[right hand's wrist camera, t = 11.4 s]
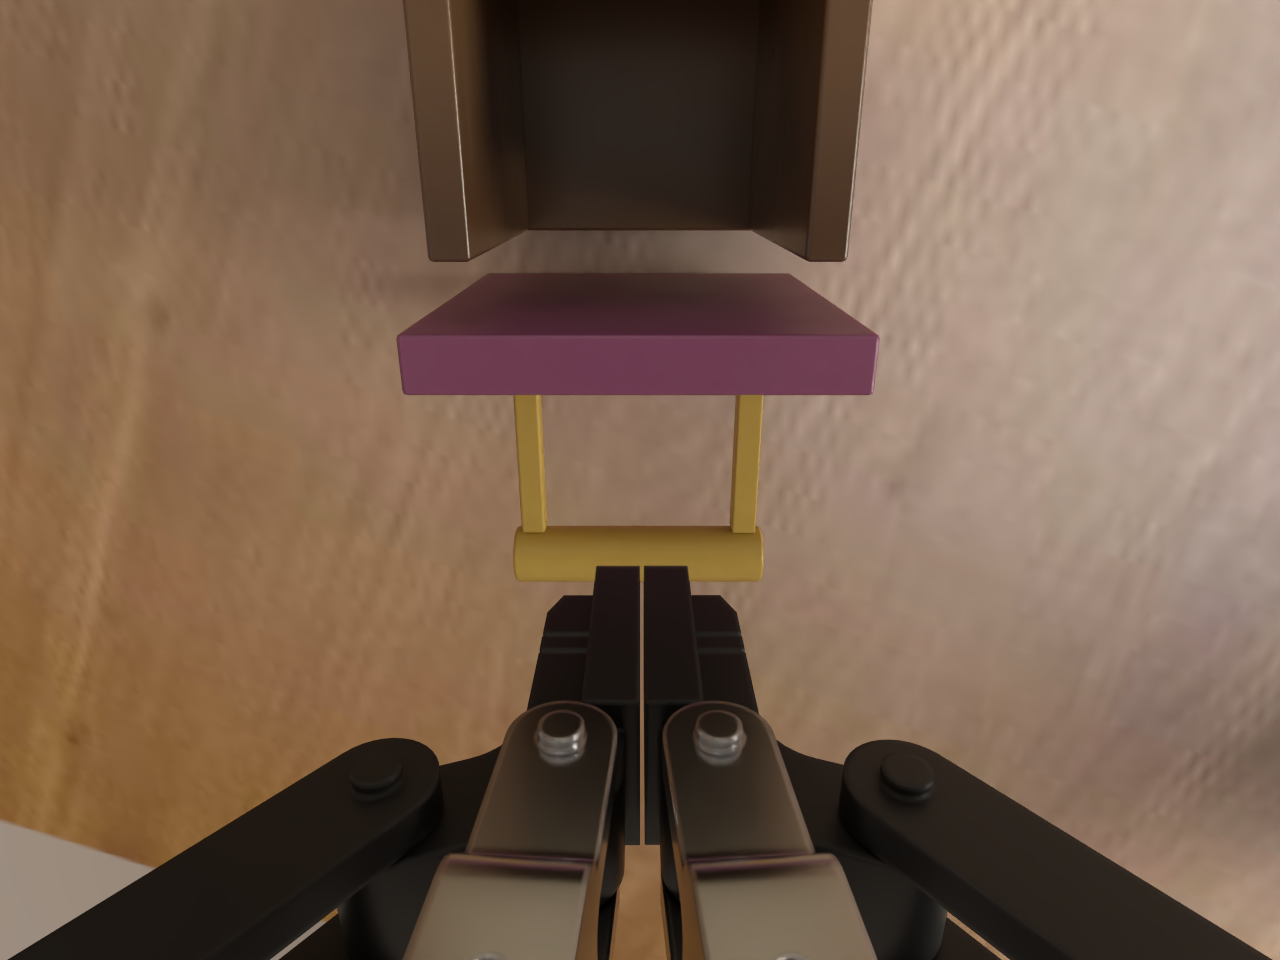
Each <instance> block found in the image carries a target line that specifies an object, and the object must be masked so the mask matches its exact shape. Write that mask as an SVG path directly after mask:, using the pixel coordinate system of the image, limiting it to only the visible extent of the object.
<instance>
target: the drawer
mask: <svg viewBox="0 0 1280 960" xmlns="http://www.w3.org/2000/svg"><path fill="white" fill-rule="evenodd" d="M872 2H873V0H403V7H404V17H405V27H406V37H407V48H408V58H409V68H410V78H411V88H412V98H413V108H414V118H415V128H416V138H417V148H418V158H419V168H420V178H421V189H422V199H423V209H424V219H425V229H426V239H427V249H428V257H429V259H430V260H431V261H433V262H467V261H470V260H472V259H473V258H475V257H477V256H479V255H481V254H483V253H485V252H487V251H489V250H490V249H492V248H494V247H496V246H498V245H500V244H502V243H504V242H506V241H507V240H509V239H511V238H513V237H515V236H517V235H519V234H521V233H522V232H524V231H526V230H751V231H753V232H755V233H757V234H759V235H760V236H762V237H764V238H766V239H768V240H770V241H772V242H773V243H775V244H777V245H779V246H781V247H783V248H784V249H786V250H788V251H790V252H792V253H794V254H796V255H797V256H799V257H801V258H803V259H805V260H807V261H809V262H842V261H845V260H846V259H847V257H848V247H849V237H850V227H851V217H852V207H853V196H854V186H855V176H856V166H857V155H858V145H859V135H860V125H861V114H862V104H863V94H864V84H865V73H866V63H867V53H868V43H869V32H870V22H871V12H872ZM879 340H880V339H879V335H877V334H876V333H874V332H873V331H871V330H870V329H868V328H867V327H866V326H864V325H863V324H861V323H860V322H858V321H857V320H855V319H854V318H853V317H851V316H850V315H848V314H847V313H845V312H844V311H842V310H841V309H840V308H838V307H837V306H835V305H834V304H832V303H831V302H829V301H828V300H827V299H825V298H824V297H822V296H821V295H819V294H818V293H817V292H815V291H814V290H812V289H811V288H809V287H808V286H806V285H805V284H804V283H802V282H801V281H799V280H798V279H796V278H795V277H793V276H792V275H791V274H487V275H485V276H484V277H482V278H481V279H480V280H478V281H477V282H475V283H474V284H472V285H471V286H469V287H468V288H466V289H465V290H463V291H462V292H460V293H459V294H458V295H456V296H455V297H453V298H452V299H450V300H449V301H447V302H446V303H444V304H443V305H441V306H440V307H438V308H437V309H436V310H434V311H433V312H431V313H430V314H428V315H427V316H425V317H424V318H422V319H421V320H419V321H418V322H416V323H415V324H414V325H412V326H411V327H409V328H408V329H406V330H405V331H403V332H402V333H400V334H399V335H397V348H398V356H399V364H400V373H401V381H402V390H403V392H404V394H406V395H513V396H514V412H515V428H516V443H517V459H518V475H519V491H520V507H521V522H522V526H519V527H518V528H517V530H516V533H515V538H514V548H513V563H514V573H515V577H516V579H517V581H520V582H595V573H596V566H640V582H644V566H687V567H688V574H689V582H757V581H760V580H761V577H762V573H763V563H764V549H763V538H762V533H761V530H760V528H759V527H758V526H755V525H756V509H757V492H758V476H759V460H760V444H761V428H762V412H763V396H764V395H870V394H872V393H873V391H874V382H875V374H876V365H877V357H878V348H879ZM541 395H736V403H735V423H734V444H733V465H732V485H731V506H730V526H546V525H547V507H546V487H545V467H544V447H543V427H542V407H541Z"/></svg>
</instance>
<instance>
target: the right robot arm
mask: <svg viewBox="0 0 1280 960" xmlns="http://www.w3.org/2000/svg"><path fill="white" fill-rule="evenodd" d="M644 794H645V845H660V858H661V894H660V895H661V910H662V919H663V928H664V937H665V945H666V954H667V960H1001V959H1000V958H998V957H997V956H996V955H995V954H993V953H992V952H991V951H990V950H988V949H987V948H986V947H984V946H983V945H982V944H981V943H979V942H978V941H977V940H975V939H974V938H973V937H972V936H970V935H969V934H968V933H966V932H965V931H964V930H963V929H961V928H960V927H959V926H958V925H956V924H955V923H954V922H952V921H951V920H950V919H949V918H947V912H949V913H951V914H952V915H953V916H955V917H956V918H957V919H958V920H960V921H961V922H962V923H964V924H965V925H966V926H967V927H969V928H970V929H971V930H973V931H974V932H975V933H976V934H978V935H979V936H980V937H982V938H983V939H984V940H986V941H987V942H988V943H989V944H991V945H992V946H993V947H995V948H996V949H997V950H998V951H1000V952H1001V953H1002V954H1004V955H1005V956H1006V957H1007V958H1009V959H1010V960H1272V959H1270V958H1269V957H1267V956H1265V955H1264V954H1262V953H1261V952H1259V951H1257V950H1256V949H1254V948H1252V947H1251V946H1249V945H1248V944H1246V943H1244V942H1243V941H1241V940H1239V939H1238V938H1236V937H1235V936H1233V935H1231V934H1230V933H1228V932H1226V931H1225V930H1223V929H1222V928H1220V927H1218V926H1217V925H1215V924H1213V923H1212V922H1210V921H1209V920H1207V919H1205V918H1204V917H1202V916H1200V915H1199V914H1197V913H1196V912H1194V911H1192V910H1191V909H1189V908H1187V907H1186V906H1184V905H1183V904H1181V903H1179V902H1178V901H1176V900H1174V899H1173V898H1171V897H1170V896H1168V895H1166V894H1165V893H1163V892H1162V891H1160V890H1158V889H1157V888H1155V887H1153V886H1152V885H1150V884H1149V883H1147V882H1145V881H1144V880H1142V879H1140V878H1139V877H1137V876H1136V875H1134V874H1132V873H1131V872H1129V871H1127V870H1126V869H1124V868H1123V867H1121V866H1119V865H1118V864H1116V863H1114V862H1113V861H1111V860H1110V859H1108V858H1106V857H1105V856H1103V855H1101V854H1100V853H1098V852H1097V851H1095V850H1093V849H1092V848H1090V847H1088V846H1087V845H1085V844H1084V843H1082V842H1080V841H1079V840H1077V839H1075V838H1074V837H1072V836H1071V835H1069V834H1067V833H1066V832H1064V831H1062V830H1061V829H1059V828H1058V827H1056V826H1054V825H1053V824H1051V823H1049V822H1048V821H1046V820H1045V819H1043V818H1041V817H1040V816H1038V815H1036V814H1035V813H1033V812H1032V811H1030V810H1028V809H1027V808H1025V807H1023V806H1022V805H1020V804H1019V803H1017V802H1015V801H1014V800H1012V799H1010V798H1009V797H1007V796H1006V795H1004V794H1002V793H1001V792H999V791H997V790H996V789H994V788H993V787H991V786H989V785H988V784H986V783H984V782H983V781H981V780H980V779H978V778H976V777H975V776H973V775H971V774H970V773H968V772H967V771H965V770H963V769H962V768H960V767H958V766H957V765H955V764H954V763H952V762H950V761H949V760H947V759H945V758H944V757H942V756H941V755H939V754H937V753H935V752H933V751H932V750H930V749H927V748H925V747H922V746H920V745H917V744H913V743H910V742H905V741H899V740H877V741H871V742H868V743H865V744H862V745H860V746H858V747H857V748H855V749H854V750H853V751H852V752H851V753H850V754H849V755H848V757H847V758H846V760H845V763H844V765H841V764H837V763H833V762H829V761H825V760H821V759H816V758H813V757H809V756H806V755H803V754H801V753H798V752H796V751H794V750H792V749H790V748H788V747H786V746H784V745H783V744H782V743H780V742H779V741H777V740H776V738H775V735H774V733H773V731H772V729H771V727H770V725H769V724H768V723H767V721H766V720H765V719H764V718H762V717H761V716H760V715H759V713H758V708H757V703H756V699H755V694H754V690H753V685H752V681H751V676H750V672H749V667H748V662H747V658H746V653H745V651H744V644H743V640H742V636H741V630H740V626H739V621H738V617H737V612H736V611H735V610H734V609H733V608H732V607H731V606H730V605H729V604H728V603H727V602H726V601H725V600H724V599H723V598H722V597H721V596H720V595H691V590H690V582H689V574H688V567H687V566H644ZM625 845H640V566H596V573H595V582H594V591H593V595H564V596H563V597H562V598H561V599H560V600H559V601H558V602H557V603H556V604H555V605H554V606H553V607H552V608H551V609H550V610H549V611H548V613H547V617H546V622H545V626H544V631H543V636H542V641H541V646H540V653H539V655H538V660H537V665H536V669H535V674H534V679H533V684H532V688H531V693H530V698H529V703H528V707H527V711H526V712H524V713H523V714H521V715H520V716H519V717H518V718H516V719H515V720H514V721H513V723H512V724H511V725H510V727H509V729H508V731H507V733H506V735H505V738H504V741H503V744H502V745H501V746H500V747H498V748H496V749H494V750H492V751H490V752H488V753H485V754H483V755H480V756H477V757H473V758H470V759H466V760H462V761H458V762H453V763H449V764H445V765H441V766H439V762H438V759H437V757H436V755H435V754H434V753H433V751H432V750H431V749H429V748H428V747H427V746H425V745H424V744H422V743H420V742H417V741H414V740H410V739H404V738H387V739H380V740H374V741H371V742H367V743H364V744H361V745H359V746H356V747H354V748H352V749H350V750H348V751H346V752H344V753H343V754H341V755H339V756H338V757H336V758H335V759H333V760H331V761H330V762H328V763H326V764H325V765H323V766H322V767H320V768H318V769H317V770H315V771H313V772H312V773H310V774H309V775H307V776H305V777H304V778H302V779H300V780H299V781H297V782H296V783H294V784H292V785H291V786H289V787H287V788H286V789H284V790H283V791H281V792H279V793H278V794H276V795H274V796H273V797H271V798H270V799H268V800H266V801H265V802H263V803H261V804H260V805H258V806H257V807H255V808H253V809H252V810H250V811H248V812H247V813H245V814H244V815H242V816H240V817H239V818H237V819H235V820H234V821H232V822H231V823H229V824H227V825H226V826H224V827H222V828H221V829H219V830H218V831H216V832H214V833H213V834H211V835H209V836H208V837H206V838H205V839H203V840H201V841H200V842H198V843H196V844H195V845H193V846H192V847H190V848H188V849H187V850H185V851H183V852H182V853H180V854H179V855H177V856H175V857H174V858H172V859H170V860H169V861H167V862H166V863H164V864H162V865H161V866H159V867H158V868H156V869H154V870H153V871H151V872H149V873H148V874H146V875H145V876H143V877H141V878H140V879H138V880H136V881H135V882H133V883H132V884H130V885H128V886H127V887H125V888H123V889H122V890H120V891H119V892H117V893H115V894H114V895H112V896H110V897H109V898H107V899H106V900H104V901H102V902H101V903H99V904H97V905H96V906H94V907H93V908H91V909H89V910H88V911H86V912H85V913H83V914H81V915H80V916H78V917H76V918H75V919H73V920H71V921H70V922H68V923H67V924H65V925H63V926H62V927H60V928H58V929H57V930H55V931H54V932H52V933H50V934H49V935H47V936H45V937H44V938H42V939H41V940H39V941H37V942H36V943H34V944H33V945H31V946H29V947H28V948H26V949H24V950H23V951H21V952H19V953H18V954H16V955H15V956H13V957H11V958H10V959H8V960H270V959H271V958H273V957H274V956H275V955H276V954H278V953H279V952H280V951H282V950H283V949H284V948H285V947H287V946H288V945H289V944H291V943H292V942H293V941H295V940H296V939H297V938H298V937H300V936H301V935H302V934H304V933H305V932H306V931H307V930H309V929H310V928H311V927H313V926H314V925H315V924H316V923H318V922H319V921H320V920H322V919H323V918H324V917H326V916H327V915H328V914H329V913H331V912H332V911H333V910H335V909H336V908H337V910H338V914H337V915H335V916H334V917H333V918H331V919H330V920H329V921H328V922H326V923H325V924H324V925H323V926H321V927H320V928H319V929H317V930H316V931H315V932H314V933H312V934H311V935H310V936H308V937H307V938H306V939H305V940H303V941H302V942H301V943H299V944H298V945H297V946H296V947H294V948H293V949H292V950H290V951H289V952H288V953H287V954H285V955H284V956H283V957H282V958H280V959H279V960H613V954H614V945H615V937H616V928H617V919H618V910H619V895H620V894H619V886H620V884H621V881H622V878H623V875H624V861H625Z"/></svg>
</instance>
